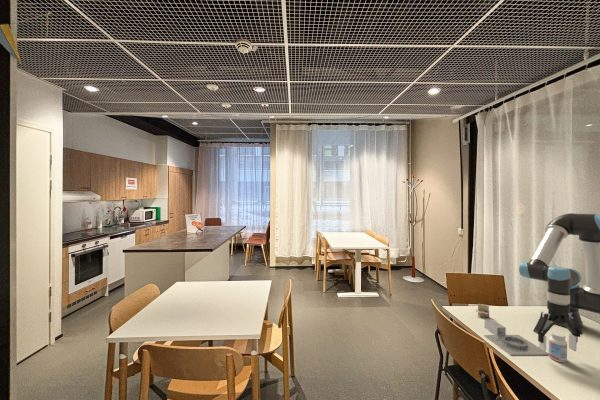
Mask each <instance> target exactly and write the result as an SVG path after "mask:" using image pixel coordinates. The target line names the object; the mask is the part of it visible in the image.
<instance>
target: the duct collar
mask: <svg viewBox="0 0 600 400" xmlns="http://www.w3.org/2000/svg"><path fill="white" fill-rule="evenodd" d="M484 328H485V329H487V330H488V331H489V332H490V333H492V334H484V335H483V336H484V337H485V338H486V339H487V340H489V341H491V343H493V344H494V345H496V346H497V347H498V348H500V349H502V351H504V352H505V353H507V354H508V355H510V356H549V352H548V351H547V350H546V351H543V350H542V349H540V348H539V346H537V345H536V344H534V343H532V342H531V341H529V340H528V339H526V338H525V337H523V336H521V335H520V334H507V333H506V332H507V330H506V329H507V328H506V326H504V325H502V324H500V323H499V322H497V321H496V320H494V319H491V318H490V319H489V318H488V319H486V318H485V319H484Z"/></svg>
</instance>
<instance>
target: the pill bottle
mask: <svg viewBox="0 0 600 400" xmlns="http://www.w3.org/2000/svg"><path fill="white" fill-rule="evenodd" d="M550 333H551V334H550V335H551V336H550V337H549V338H548V353H549V355H548V357H549V359H551V360H553V361H556V362H558V363H566V362H567V361H568V342H567V341H566V335H565V334H563V333H561V332H558V331H551V332H550Z"/></svg>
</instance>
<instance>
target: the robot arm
mask: <svg viewBox="0 0 600 400" xmlns="http://www.w3.org/2000/svg"><path fill="white" fill-rule="evenodd" d="M544 232H545V233H544V234H543V237H542V238H541V240H540V242H539V243H538V245H537V247H536V249H535V250H534V253H532V257H531V258H530V260H529V261H527V262H524V261H522V262H521V263H519V267H518V273H519V275H520V276H521V277H525V278H528V279H530V280H531V279H533V280H537V281H543V282H545V283H546V282H547V294H546V295H547V298H546V299H547V301H546V308H547V310H548V312H543V311H541V312H540V316H539V319H538V321H537V323H536V324H535V326H534V328H533V331H532V332H533V333H535V334H537V338H538V339H537V340H538V342H539V344H538V347H539V348H540V349H542V350H543V351H546V352H547V336H546V334H547V333H548V332H549V331H550V329H552V327H553V326H556V325H557V326H559V327H563V328H566V329H567V330H568V332H570V333H568V349H570V350H572V351H574V352H577V343H578V340H579V339H578V338H580V337H581V335H583V334H584V333H583V331H582V329H583V328H584V322H583V321H582V317H581V314H580V310H582V311H586V312H591V313H594V314H599V315H600V213H599V214H598V213H573V212H572V213H571V212H570V213H564V214H561V215H559V216H557V217H555V218H553V219H552V220H551V221H549V223H548V224H547V225H546V227H545V228H544ZM569 235H570V236H571V235H572V236H578V239H579V241H581V242H582V243H583V256H584V257H583V258H584V272H585V273H584V274H585V275H584V276H585V284H583V285H582V287H580V283H581V282H582V274H581V273H580V272H579V271H578V270H576V269H573V268H568V267H561V266H550V264H551V262H552V260H553V258H554V257H555V255H556V253H557V250H558V249H559V247H560V245H561V244H562V241H563V240H564V239H566V238H568V236H569Z"/></svg>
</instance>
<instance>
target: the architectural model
mask: <svg viewBox="0 0 600 400" xmlns="http://www.w3.org/2000/svg"><path fill="white" fill-rule="evenodd" d="M475 312H476V313H477V315H478V316H481V317H484V318H487V317H488V318H490V307H489V305H488V304H483V303H482V304H481V303H477V309H475Z"/></svg>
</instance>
